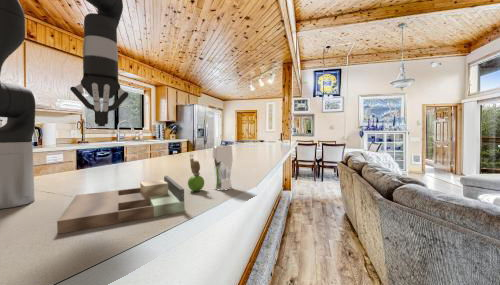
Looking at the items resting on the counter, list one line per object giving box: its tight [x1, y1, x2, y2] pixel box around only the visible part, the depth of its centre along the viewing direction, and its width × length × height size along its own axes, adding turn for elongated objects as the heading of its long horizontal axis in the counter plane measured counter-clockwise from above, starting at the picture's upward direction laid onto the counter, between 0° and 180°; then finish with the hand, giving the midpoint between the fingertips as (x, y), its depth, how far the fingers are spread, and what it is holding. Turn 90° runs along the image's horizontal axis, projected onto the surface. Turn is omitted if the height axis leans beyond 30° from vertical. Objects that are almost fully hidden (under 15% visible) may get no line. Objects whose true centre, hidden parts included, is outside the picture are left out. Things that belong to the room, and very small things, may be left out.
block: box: [139, 179, 168, 198], centre depth 62 cm, size 6×6×3 cm
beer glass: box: [212, 145, 234, 191], centre depth 77 cm, size 7×7×15 cm
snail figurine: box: [187, 154, 205, 192], centre depth 75 cm, size 5×6×12 cm
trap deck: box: [56, 175, 185, 235], centre depth 57 cm, size 24×22×6 cm
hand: (101, 126), depth 57 cm, fingers closed
